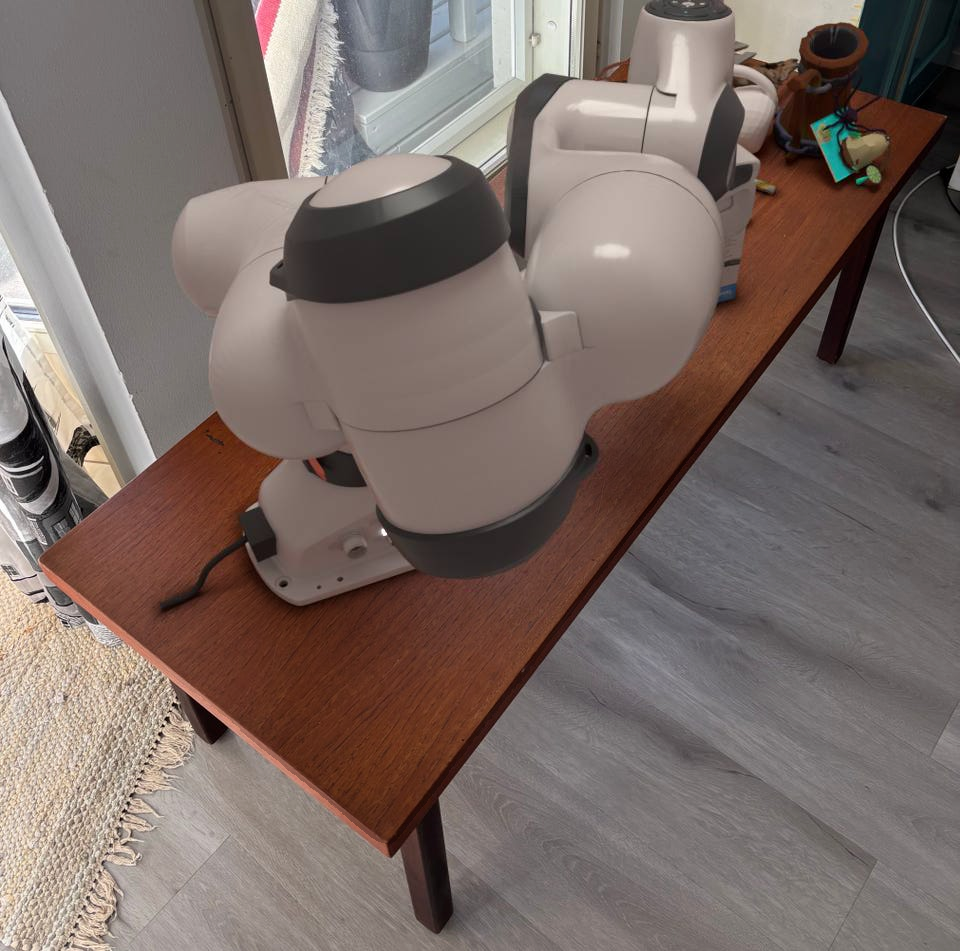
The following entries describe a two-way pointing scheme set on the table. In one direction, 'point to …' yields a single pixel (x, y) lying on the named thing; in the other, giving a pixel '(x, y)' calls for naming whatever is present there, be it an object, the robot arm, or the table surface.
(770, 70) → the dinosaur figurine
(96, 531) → the table surface
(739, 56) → the cross
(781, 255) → the table surface
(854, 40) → the mug
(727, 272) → the ink box
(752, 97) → the cat figurine
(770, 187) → the pencil
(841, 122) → the diorama
